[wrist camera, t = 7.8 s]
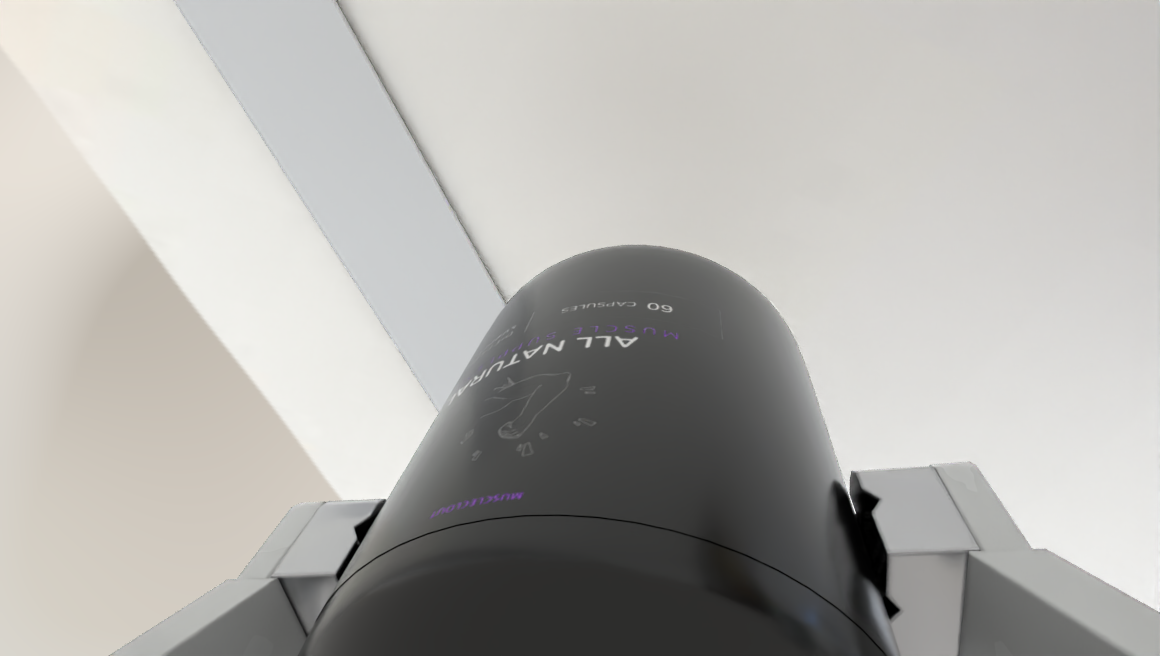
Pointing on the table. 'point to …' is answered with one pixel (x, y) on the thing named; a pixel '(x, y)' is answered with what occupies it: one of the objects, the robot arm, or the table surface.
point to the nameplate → (356, 174)
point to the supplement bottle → (619, 487)
